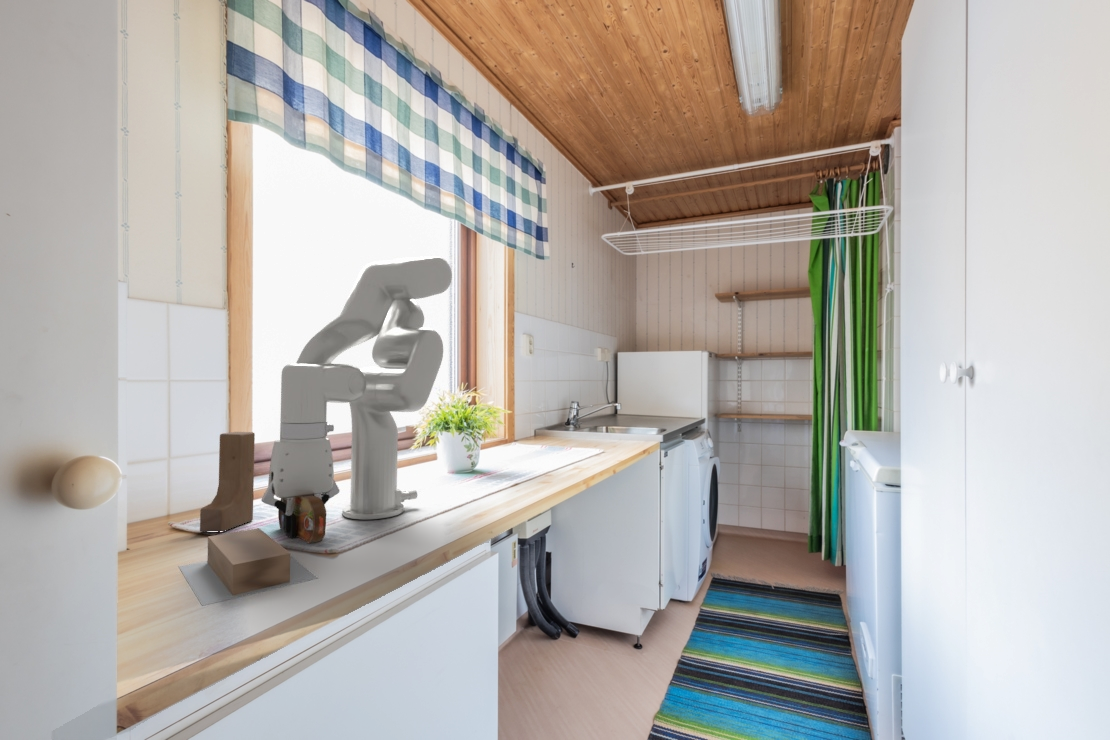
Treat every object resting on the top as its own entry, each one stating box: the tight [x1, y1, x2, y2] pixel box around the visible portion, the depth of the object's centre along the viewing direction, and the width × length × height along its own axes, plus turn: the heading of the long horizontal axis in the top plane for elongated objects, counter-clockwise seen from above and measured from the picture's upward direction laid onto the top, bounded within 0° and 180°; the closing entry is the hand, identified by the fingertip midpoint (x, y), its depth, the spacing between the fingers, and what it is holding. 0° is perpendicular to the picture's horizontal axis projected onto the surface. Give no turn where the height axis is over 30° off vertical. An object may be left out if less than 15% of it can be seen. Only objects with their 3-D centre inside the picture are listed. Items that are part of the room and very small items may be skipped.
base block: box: [206, 527, 291, 596], centre depth 78 cm, size 7×16×4 cm, turn 43°
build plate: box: [178, 554, 319, 607], centre depth 78 cm, size 14×18×1 cm
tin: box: [277, 495, 327, 544], centre depth 96 cm, size 15×3×8 cm, turn 48°
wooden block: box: [199, 431, 256, 532], centre depth 104 cm, size 9×4×18 cm, turn 173°
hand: (301, 533), depth 96 cm, fingers closed on tin, 3 cm apart
